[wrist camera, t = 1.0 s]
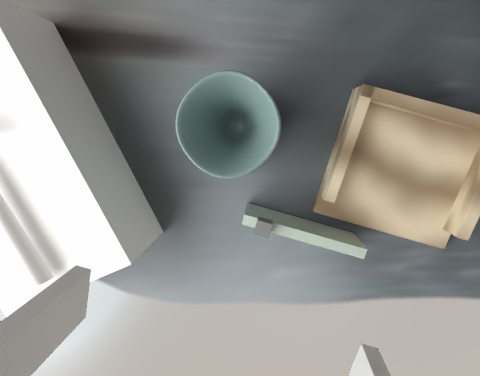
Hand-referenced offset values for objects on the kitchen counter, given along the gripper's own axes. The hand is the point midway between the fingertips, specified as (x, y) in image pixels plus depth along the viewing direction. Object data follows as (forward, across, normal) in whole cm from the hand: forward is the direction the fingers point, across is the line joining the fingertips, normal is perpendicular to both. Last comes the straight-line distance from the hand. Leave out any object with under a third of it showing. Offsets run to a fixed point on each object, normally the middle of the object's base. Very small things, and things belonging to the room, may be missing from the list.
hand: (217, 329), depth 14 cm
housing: (+20, +14, +8) cm, 26 cm away
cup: (+20, -3, +8) cm, 22 cm away
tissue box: (+20, -22, 0) cm, 30 cm away
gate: (+19, +6, 0) cm, 20 cm away
